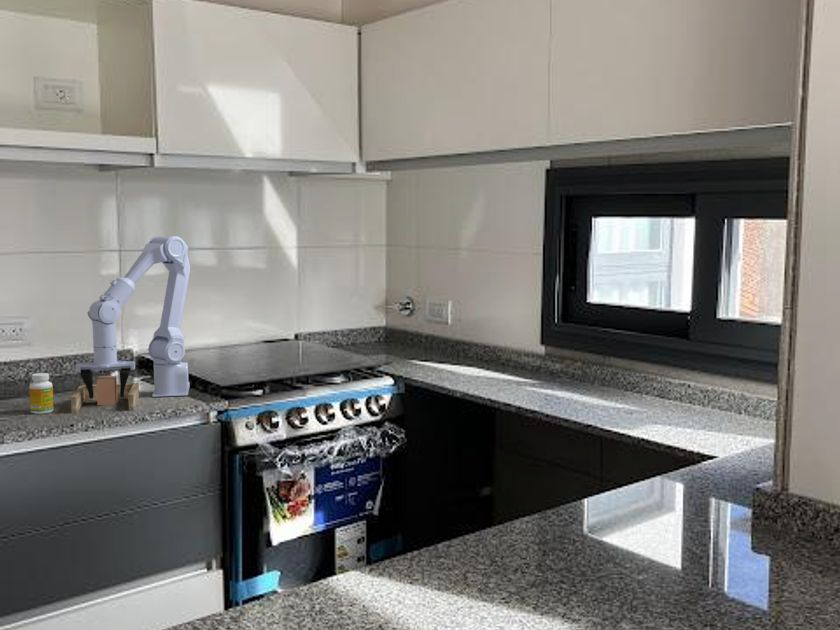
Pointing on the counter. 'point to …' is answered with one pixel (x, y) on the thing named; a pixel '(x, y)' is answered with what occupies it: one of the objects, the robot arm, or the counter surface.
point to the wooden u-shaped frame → (82, 395)
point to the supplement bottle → (41, 394)
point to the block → (107, 390)
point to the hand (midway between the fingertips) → (106, 397)
